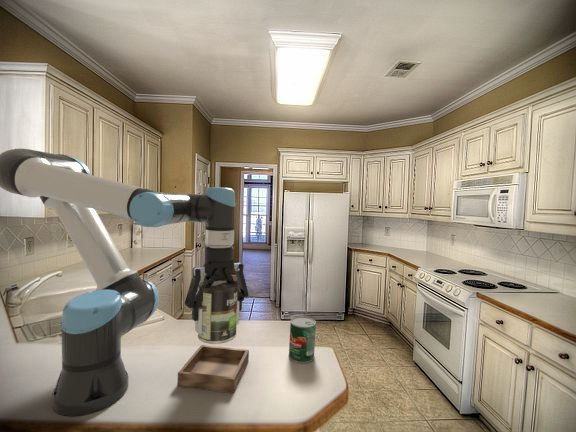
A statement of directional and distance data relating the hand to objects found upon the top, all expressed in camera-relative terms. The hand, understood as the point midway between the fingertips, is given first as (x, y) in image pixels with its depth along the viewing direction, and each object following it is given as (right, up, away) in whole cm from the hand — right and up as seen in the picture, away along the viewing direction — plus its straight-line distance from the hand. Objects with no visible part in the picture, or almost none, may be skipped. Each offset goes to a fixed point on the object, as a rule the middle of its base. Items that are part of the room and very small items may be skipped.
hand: (217, 327), depth 81 cm
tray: (-1, -13, +1) cm, 13 cm away
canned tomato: (+23, -13, +12) cm, 29 cm away
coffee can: (0, -2, 0) cm, 2 cm away
